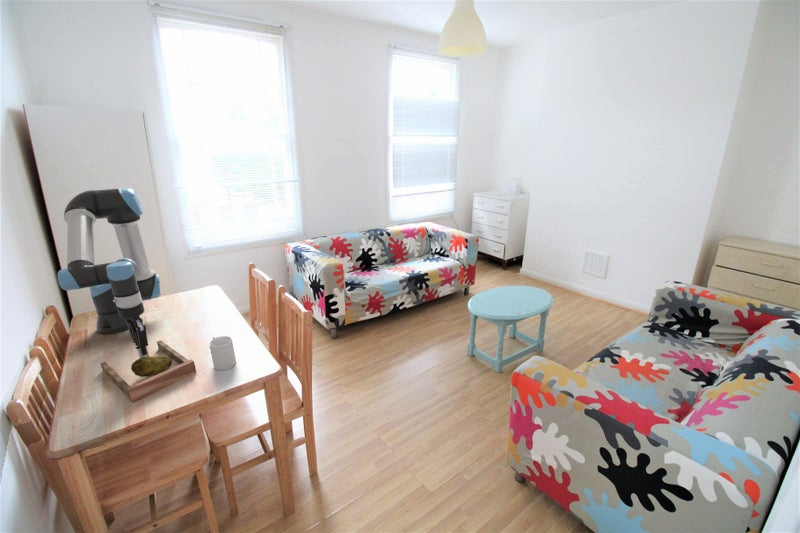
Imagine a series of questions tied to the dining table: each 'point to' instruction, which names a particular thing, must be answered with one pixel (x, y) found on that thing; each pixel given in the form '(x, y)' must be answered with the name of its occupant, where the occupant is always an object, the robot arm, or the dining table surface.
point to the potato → (151, 365)
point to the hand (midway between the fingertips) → (145, 360)
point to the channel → (156, 381)
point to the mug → (222, 352)
